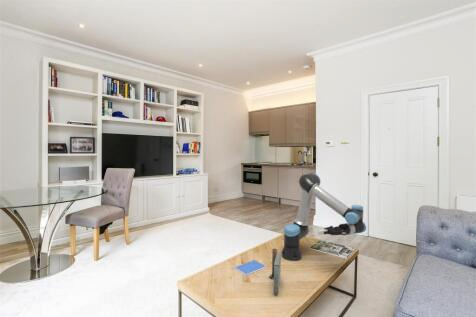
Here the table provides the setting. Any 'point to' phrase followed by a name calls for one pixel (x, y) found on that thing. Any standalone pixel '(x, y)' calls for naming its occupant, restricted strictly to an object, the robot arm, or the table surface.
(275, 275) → the panel
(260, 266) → the tablet computer
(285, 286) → the table surface
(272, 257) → the hinge post
